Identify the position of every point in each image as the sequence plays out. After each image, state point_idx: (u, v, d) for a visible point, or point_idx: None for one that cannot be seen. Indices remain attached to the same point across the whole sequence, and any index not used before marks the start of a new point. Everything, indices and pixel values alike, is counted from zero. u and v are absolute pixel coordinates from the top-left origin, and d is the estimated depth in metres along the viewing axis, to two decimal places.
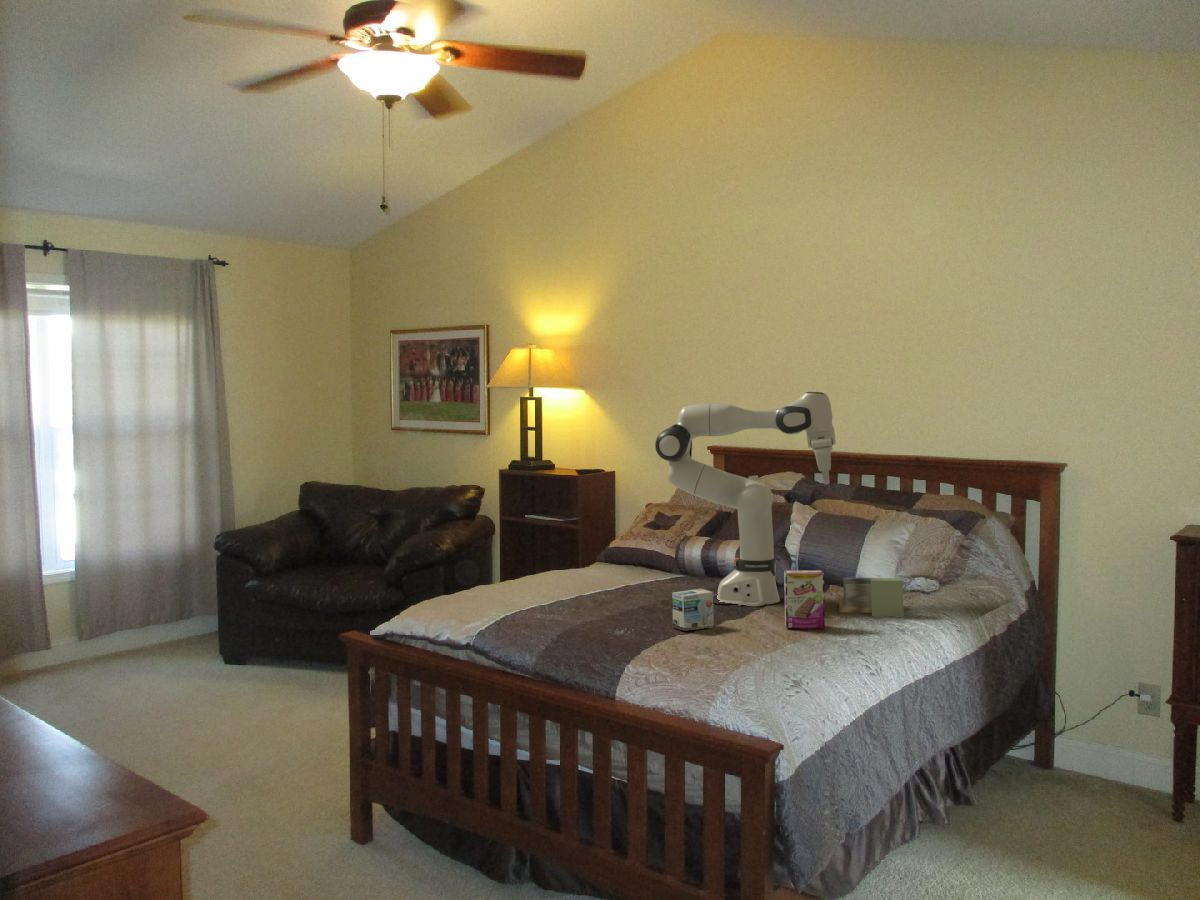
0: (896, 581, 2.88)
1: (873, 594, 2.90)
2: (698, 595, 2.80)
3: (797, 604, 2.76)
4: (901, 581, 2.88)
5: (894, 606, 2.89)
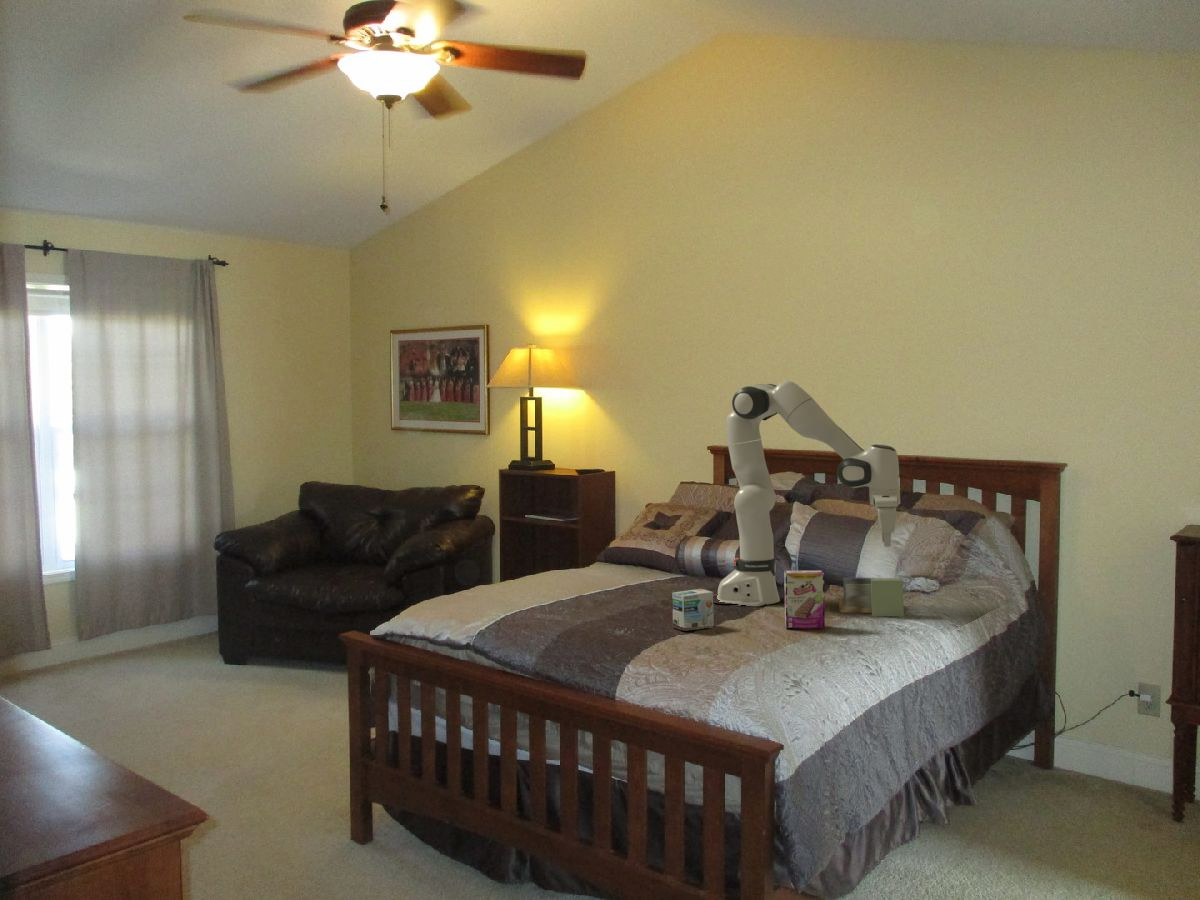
0: (896, 581, 2.88)
1: (873, 594, 2.90)
2: (698, 595, 2.80)
3: (797, 604, 2.76)
4: (901, 581, 2.88)
5: (894, 606, 2.89)
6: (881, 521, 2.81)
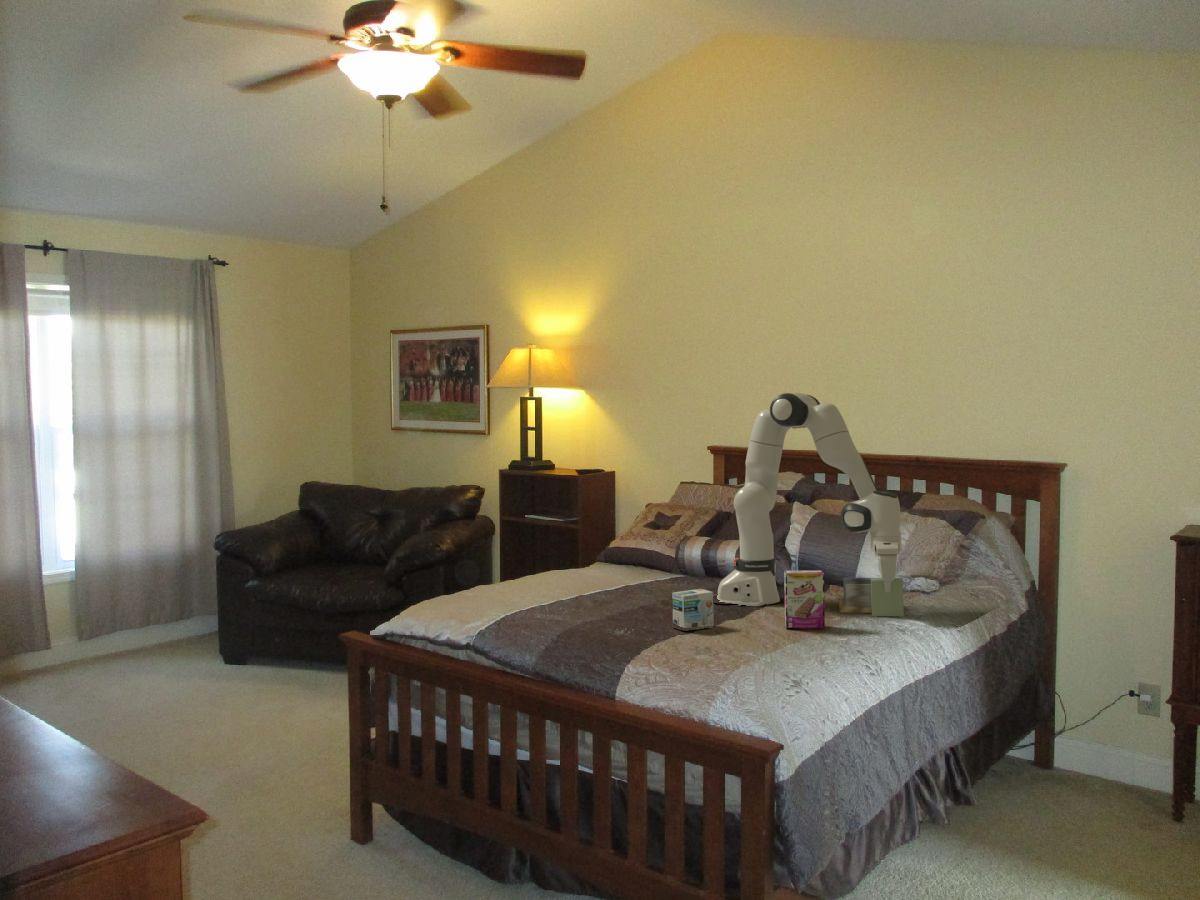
0: (896, 581, 2.88)
1: (873, 594, 2.90)
2: (698, 595, 2.80)
3: (797, 604, 2.76)
4: (901, 581, 2.88)
5: (894, 606, 2.89)
6: (882, 569, 2.81)
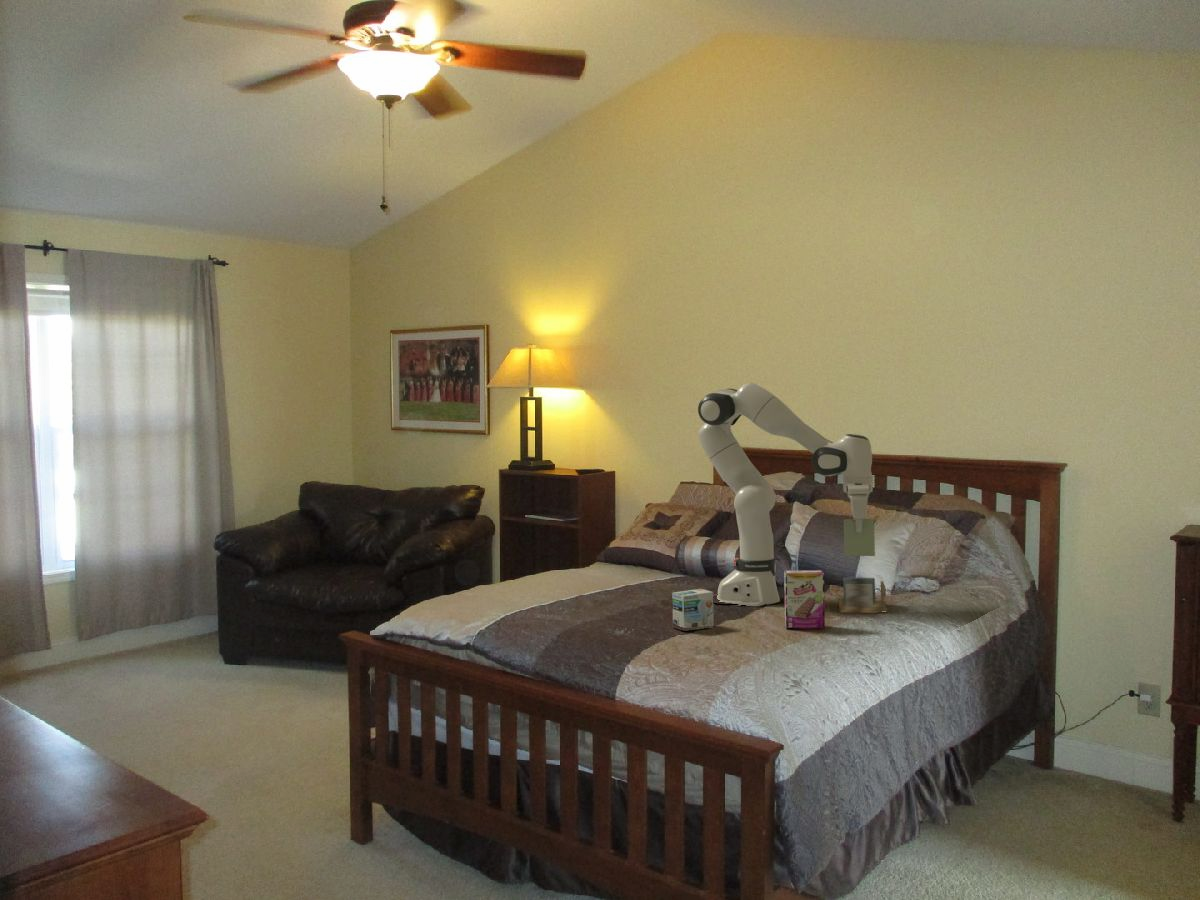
0: (868, 521, 2.98)
1: (845, 534, 2.99)
2: (698, 595, 2.80)
3: (797, 604, 2.76)
4: (872, 521, 2.97)
5: (865, 545, 2.98)
6: (853, 508, 2.91)
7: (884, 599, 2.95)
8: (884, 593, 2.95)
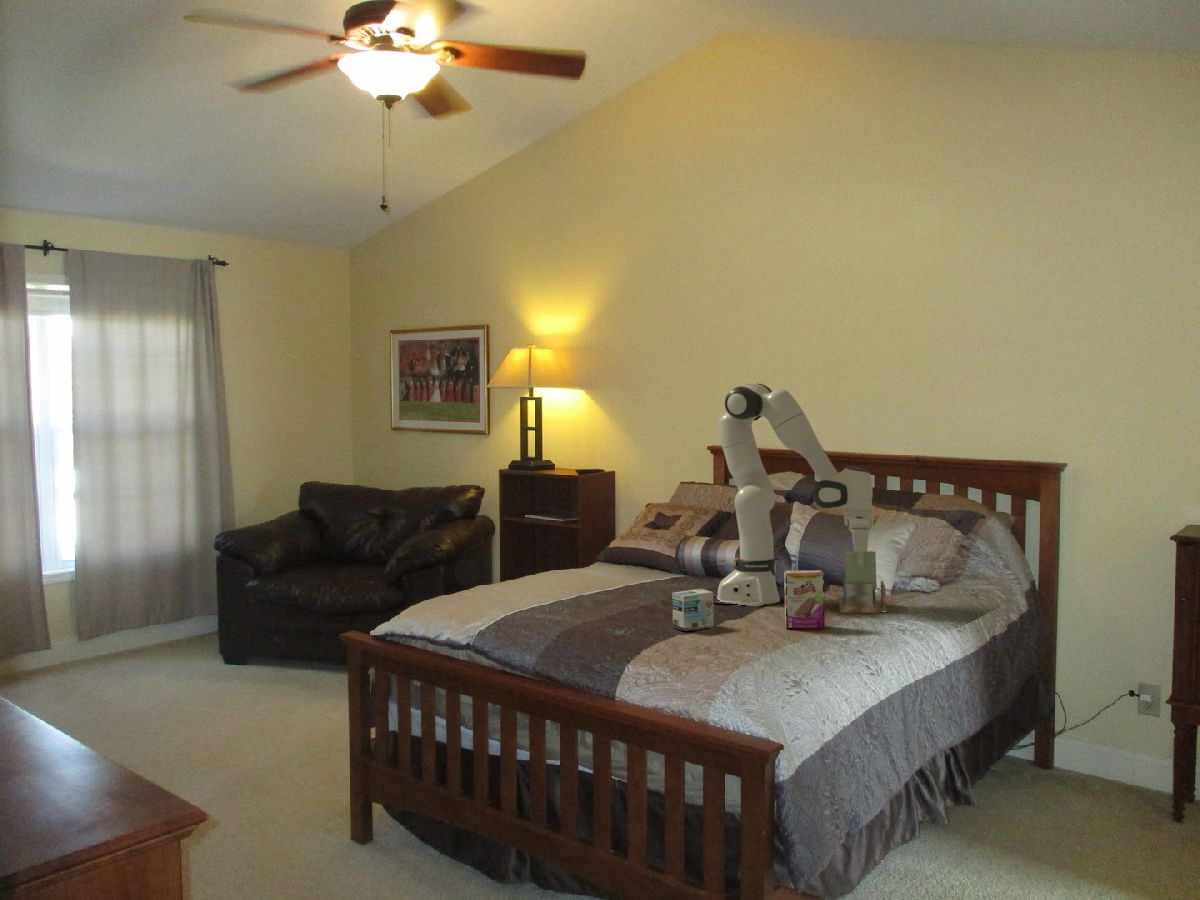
0: (869, 554, 2.98)
1: (847, 566, 2.99)
2: (698, 595, 2.80)
3: (797, 604, 2.76)
4: (874, 554, 2.98)
5: (867, 578, 2.98)
6: (854, 541, 2.91)
7: (884, 599, 2.95)
8: (884, 593, 2.95)
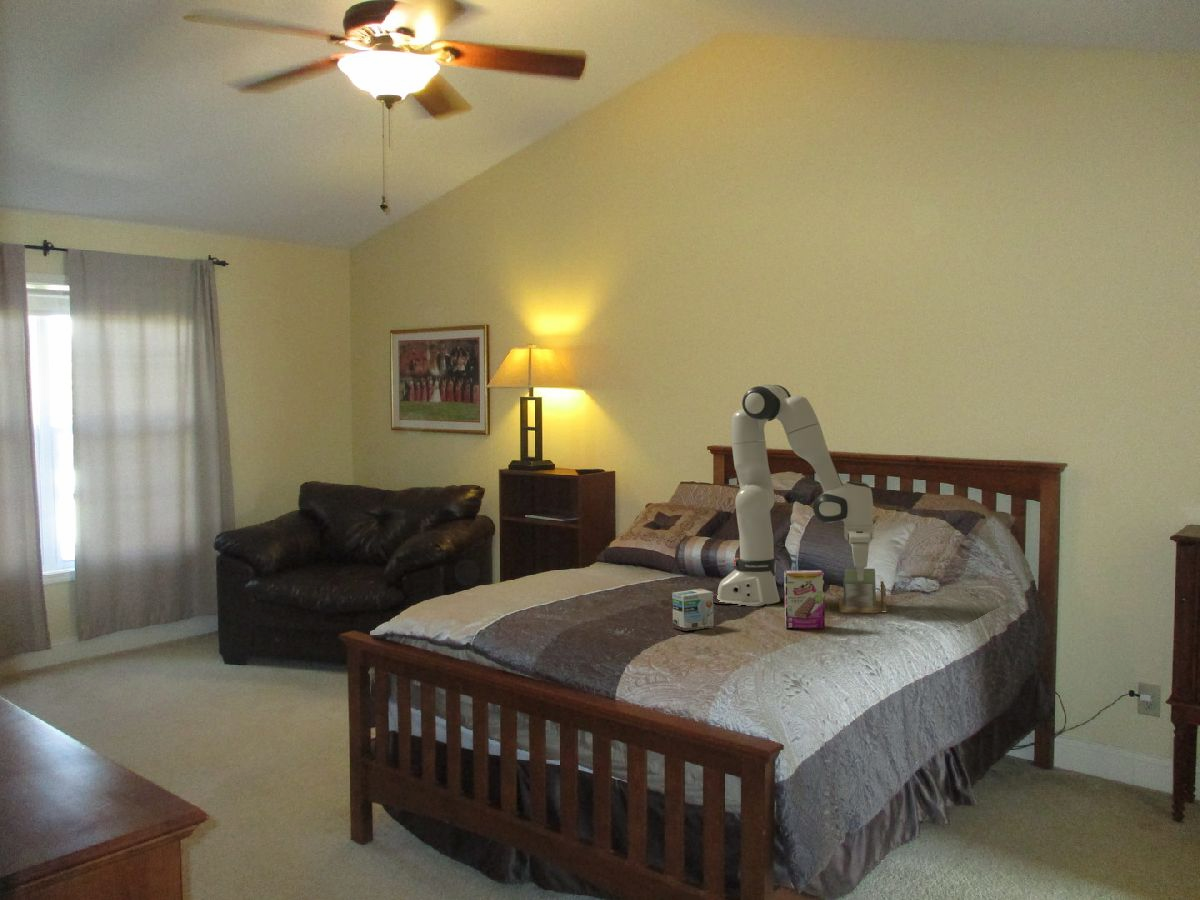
0: (869, 571, 2.98)
1: (846, 583, 3.00)
2: (698, 595, 2.80)
3: (797, 604, 2.76)
4: (873, 571, 2.98)
5: None
6: (854, 556, 2.91)
7: (884, 599, 2.95)
8: (884, 593, 2.95)
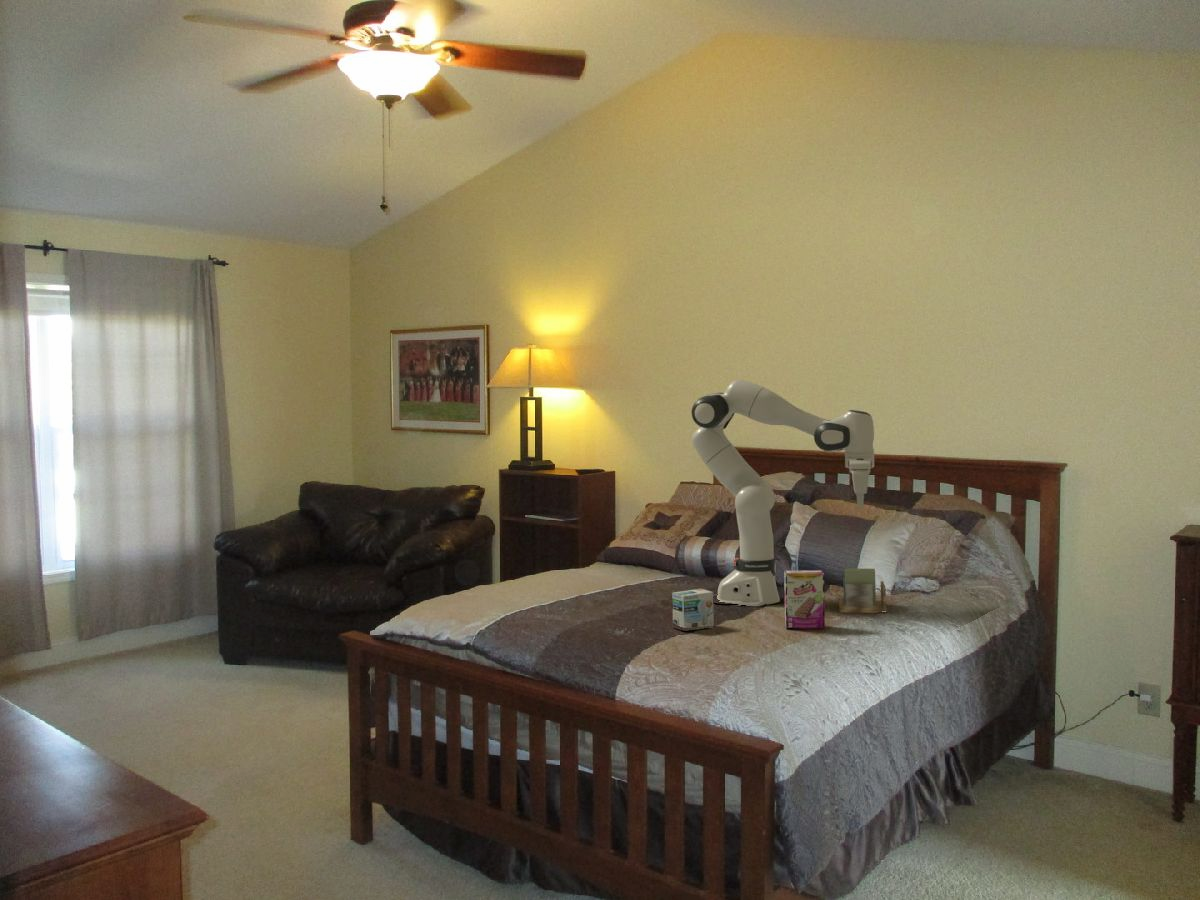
0: (869, 571, 2.98)
1: (846, 583, 3.00)
2: (698, 595, 2.80)
3: (797, 604, 2.76)
4: (873, 571, 2.98)
5: None
6: (854, 482, 2.93)
7: (884, 599, 2.95)
8: (884, 593, 2.95)
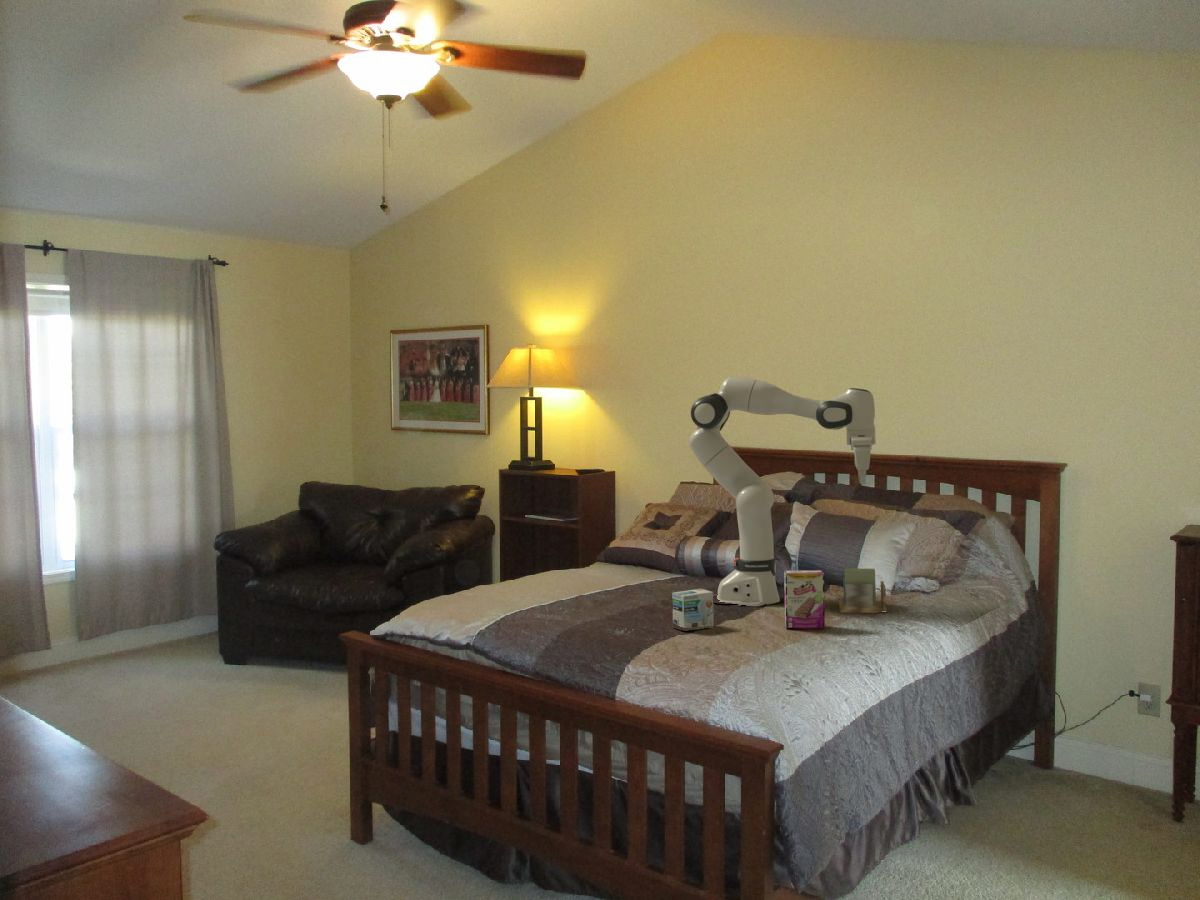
0: (869, 571, 2.98)
1: (846, 583, 3.00)
2: (698, 595, 2.80)
3: (797, 604, 2.76)
4: (873, 571, 2.98)
5: None
6: (856, 459, 2.97)
7: (884, 599, 2.95)
8: (884, 593, 2.95)
